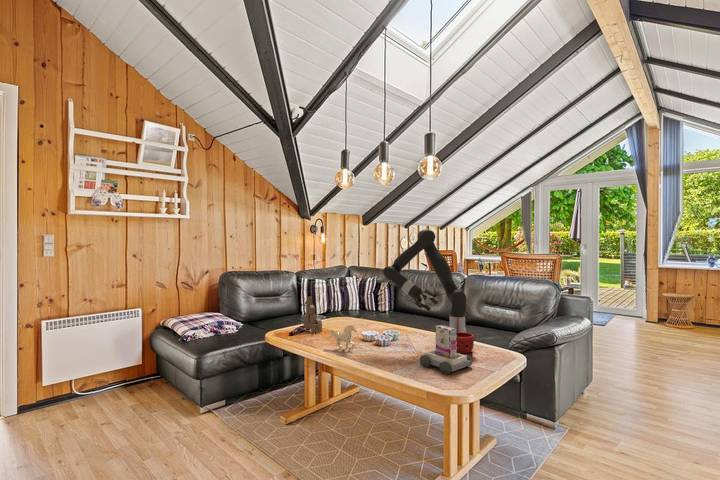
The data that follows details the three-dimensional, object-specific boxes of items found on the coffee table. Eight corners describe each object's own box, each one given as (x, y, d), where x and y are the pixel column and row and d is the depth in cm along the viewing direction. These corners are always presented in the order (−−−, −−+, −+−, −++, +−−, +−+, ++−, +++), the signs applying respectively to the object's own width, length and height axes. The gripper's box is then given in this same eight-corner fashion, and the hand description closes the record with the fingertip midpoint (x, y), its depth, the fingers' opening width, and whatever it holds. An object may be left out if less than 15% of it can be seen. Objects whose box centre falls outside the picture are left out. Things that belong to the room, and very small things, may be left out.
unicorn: (327, 348, 230) (327, 319, 229) (331, 346, 233) (331, 318, 233) (355, 353, 219) (354, 323, 218) (358, 351, 222) (358, 322, 222)
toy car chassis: (442, 358, 209) (442, 346, 209) (473, 368, 193) (473, 355, 193) (419, 365, 198) (419, 352, 198) (450, 376, 182) (450, 362, 182)
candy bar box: (457, 361, 192) (457, 328, 191) (450, 363, 189) (449, 330, 189) (442, 355, 201) (442, 324, 201) (435, 357, 199) (434, 325, 199)
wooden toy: (322, 332, 267) (322, 296, 267) (314, 334, 263) (314, 297, 262) (309, 328, 279) (309, 294, 278) (302, 330, 274) (301, 295, 274)
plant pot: (476, 354, 216) (476, 333, 216) (470, 360, 204) (470, 338, 204) (453, 350, 222) (453, 330, 222) (446, 357, 211) (446, 335, 211)
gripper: (407, 289, 216) (430, 307, 210) (419, 280, 226) (442, 296, 220) (402, 298, 220) (425, 316, 214) (415, 289, 231) (437, 305, 224)
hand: (433, 306), depth 217 cm, fingers open, 8 cm apart
